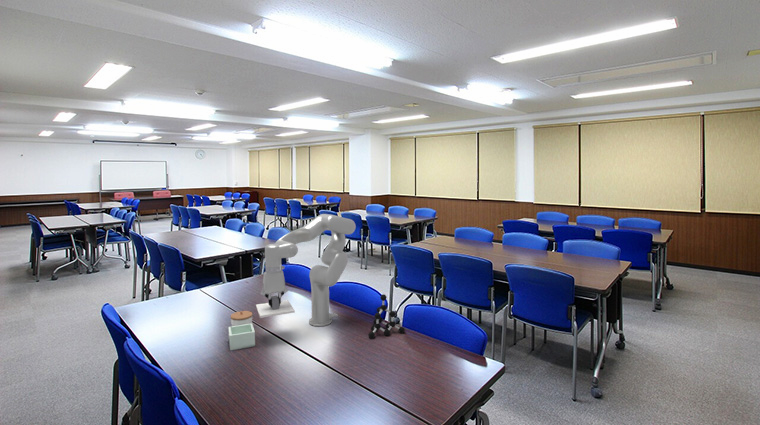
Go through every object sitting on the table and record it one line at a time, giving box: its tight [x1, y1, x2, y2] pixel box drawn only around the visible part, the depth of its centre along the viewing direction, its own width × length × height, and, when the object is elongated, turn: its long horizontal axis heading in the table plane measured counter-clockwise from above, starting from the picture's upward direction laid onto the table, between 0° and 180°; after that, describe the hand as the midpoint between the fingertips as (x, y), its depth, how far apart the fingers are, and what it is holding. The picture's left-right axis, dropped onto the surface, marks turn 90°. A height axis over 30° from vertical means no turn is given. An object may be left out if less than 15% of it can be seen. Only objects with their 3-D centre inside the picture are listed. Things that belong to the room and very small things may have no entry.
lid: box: [255, 294, 295, 319], centre depth 183 cm, size 16×16×6 cm
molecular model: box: [368, 293, 406, 339], centre depth 191 cm, size 18×20×20 cm
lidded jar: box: [230, 310, 253, 326], centre depth 195 cm, size 11×11×9 cm
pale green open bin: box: [228, 322, 256, 351], centre depth 178 cm, size 11×11×7 cm
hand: (274, 305), depth 184 cm, fingers closed on lid, 3 cm apart
